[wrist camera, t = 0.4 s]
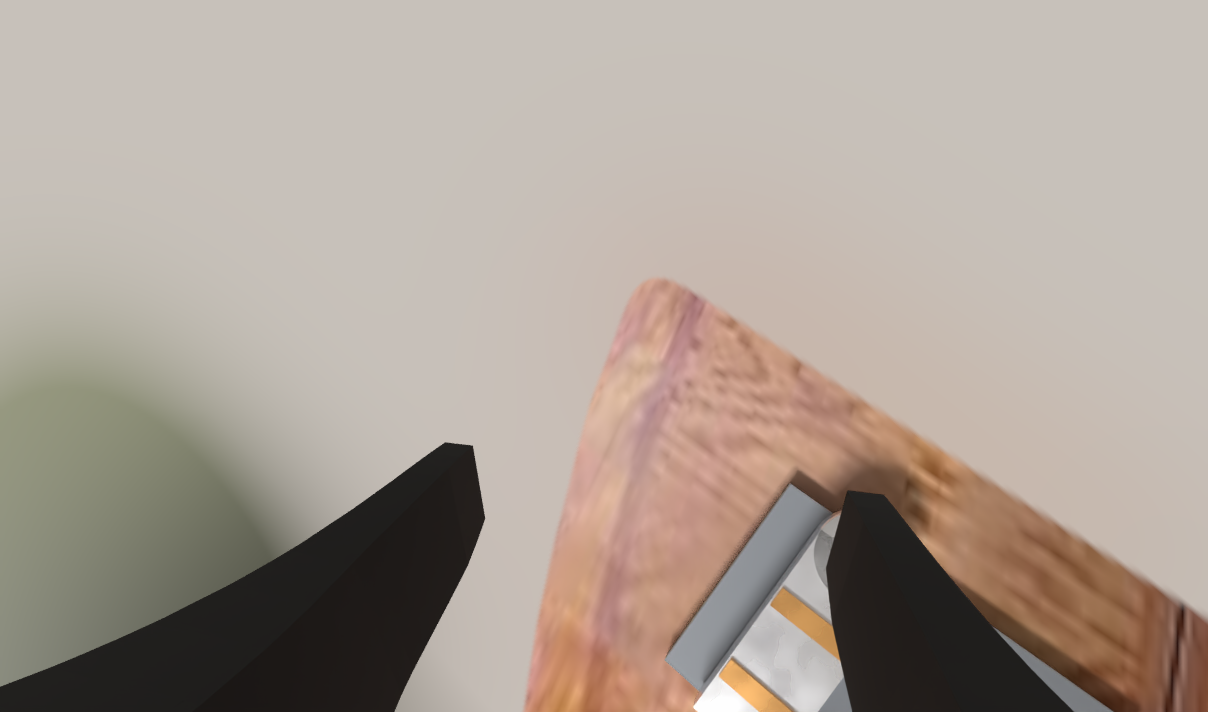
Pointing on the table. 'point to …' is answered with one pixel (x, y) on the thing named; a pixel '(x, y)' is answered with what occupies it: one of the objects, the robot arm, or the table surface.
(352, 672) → the robot arm
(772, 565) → the label board
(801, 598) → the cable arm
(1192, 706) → the table surface
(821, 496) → the table surface
